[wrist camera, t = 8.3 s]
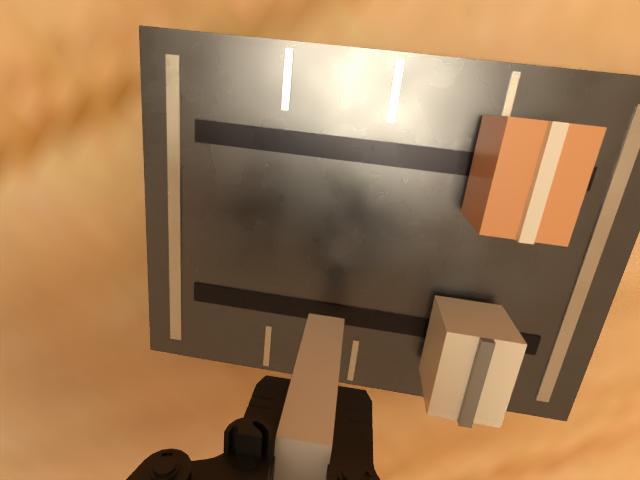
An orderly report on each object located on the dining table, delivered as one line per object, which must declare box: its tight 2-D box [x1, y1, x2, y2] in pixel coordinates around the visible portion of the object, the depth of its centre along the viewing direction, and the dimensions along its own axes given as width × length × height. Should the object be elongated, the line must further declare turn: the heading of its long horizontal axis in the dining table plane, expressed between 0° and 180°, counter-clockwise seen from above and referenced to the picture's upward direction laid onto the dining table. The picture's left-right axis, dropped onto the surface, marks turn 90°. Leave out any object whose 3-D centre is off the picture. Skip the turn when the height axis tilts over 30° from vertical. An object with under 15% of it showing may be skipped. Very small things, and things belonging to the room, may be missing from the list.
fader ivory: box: [419, 295, 527, 428], centre depth 17 cm, size 3×4×4 cm
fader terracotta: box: [461, 115, 607, 247], centre depth 15 cm, size 3×4×4 cm
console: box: [139, 26, 640, 421], centre depth 19 cm, size 22×16×2 cm
